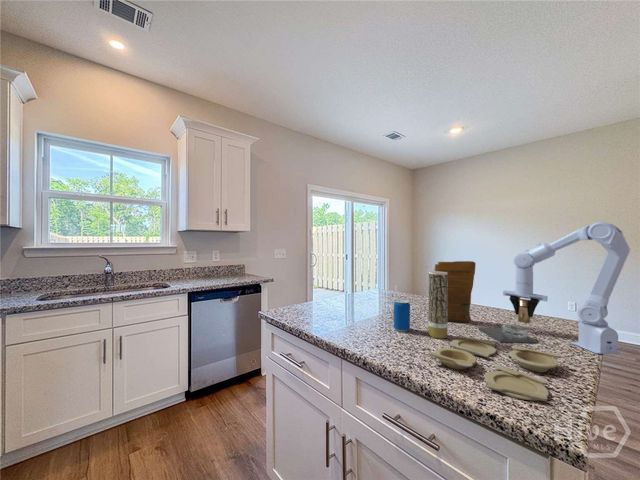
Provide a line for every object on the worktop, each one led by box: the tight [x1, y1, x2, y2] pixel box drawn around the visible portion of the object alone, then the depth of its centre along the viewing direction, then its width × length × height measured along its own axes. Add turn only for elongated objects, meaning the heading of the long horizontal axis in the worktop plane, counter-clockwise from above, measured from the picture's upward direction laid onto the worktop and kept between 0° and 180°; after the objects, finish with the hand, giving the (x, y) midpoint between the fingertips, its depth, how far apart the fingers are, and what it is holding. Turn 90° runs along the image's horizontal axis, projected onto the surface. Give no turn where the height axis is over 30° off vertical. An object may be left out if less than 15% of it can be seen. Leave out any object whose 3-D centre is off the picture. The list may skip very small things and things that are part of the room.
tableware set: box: [427, 335, 562, 402], centre depth 81 cm, size 35×29×4 cm
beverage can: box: [393, 299, 411, 333], centre depth 111 cm, size 6×6×12 cm
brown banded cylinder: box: [517, 298, 531, 324], centre depth 110 cm, size 4×4×9 cm
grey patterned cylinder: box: [427, 270, 448, 339], centre depth 104 cm, size 7×7×25 cm
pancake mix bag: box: [433, 260, 477, 323], centre depth 124 cm, size 7×19×28 cm, turn 84°
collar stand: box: [477, 323, 537, 344], centre depth 105 cm, size 14×13×4 cm
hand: (524, 315), depth 110 cm, fingers closed on brown banded cylinder, 4 cm apart
